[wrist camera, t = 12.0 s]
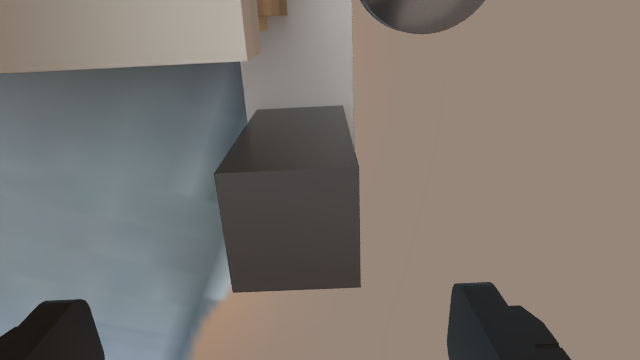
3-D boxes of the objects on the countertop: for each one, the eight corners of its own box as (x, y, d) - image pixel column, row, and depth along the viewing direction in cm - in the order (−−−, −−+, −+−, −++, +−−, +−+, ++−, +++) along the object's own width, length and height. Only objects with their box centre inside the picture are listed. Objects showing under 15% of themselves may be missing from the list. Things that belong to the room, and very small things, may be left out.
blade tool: (257, 182, 21) (216, 293, 13) (217, -165, 16) (99, -373, 7) (353, 178, 21) (376, 286, 13) (347, -173, 15) (380, -393, 7)
